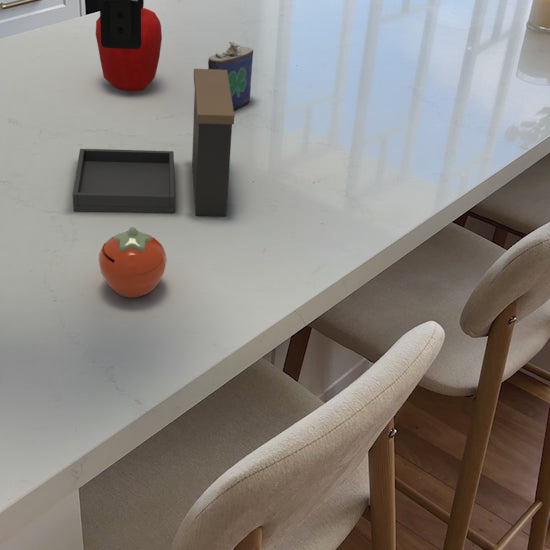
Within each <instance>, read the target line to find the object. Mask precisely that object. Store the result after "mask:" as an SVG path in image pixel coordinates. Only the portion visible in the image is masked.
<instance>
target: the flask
mask: <svg viewBox="0 0 550 550" xmlns="http://www.w3.org/2000/svg"><path fill="white" fill-rule="evenodd" d="M228 43H229V45H230V46H229V47H228V48H227V49H226V51H225V52H221V53H218V52H215V54H213V55H210V56H209V57H208V60H207V61H208V62H207V65H208V66H207V67H208V68H207V69H216V70H227V73H228V79H229V85H230V91H231V98H232V104H233V110H234V111H236V110H239V109H241V108H243V107H245V106H248V104H249V103H250V101H251V90H252V89H251V87H252V74H253V73H252V72H253V58H254V49H253V48H252V47H248V46H241V44H240V45H239V44H237V43H235V42H234V41H228Z"/></svg>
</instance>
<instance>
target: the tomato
mask: <svg viewBox="0 0 550 550" xmlns="http://www.w3.org/2000/svg"><path fill="white" fill-rule="evenodd" d="M166 253H167V252H166V250H165V247H164V246H163V244H162V243H161V242H160V241H159V240H158V239H157V238H155V237H153V236H151V235H149V234H147V233H144V232H141V231H139V230H138V229H137V228H136V227H135V226H130V227H129V228H128V230H126V231H124V232H121V233H120V232H119V233H118V234H115V235H113V236H112V237H110V238H109V239H108V240H106V241H105V242H104V243H103V245H102V246H101V248H100V251H99V253H98V265H99V269H100V274H101V275H102V277H103V280H104V281H105V282H106V283H107V285H108V286H109V287H110V289H111V290H112V291H114V292H115V293H117V294H118V295H119V296H121V297H125V298H129V299H131V298H139V297H142V296H146V295H147V294H148V293H149V294H150V292H152V291H153V290H154V289H155V288H156V287H157V285H158V284H159V283H160V282H161V280H162V278H163V276H164V274H165V270H166V266H167V262H168V261H167V254H166Z"/></svg>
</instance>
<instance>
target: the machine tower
mask: <svg viewBox="0 0 550 550" xmlns="http://www.w3.org/2000/svg"><path fill="white" fill-rule="evenodd" d="M193 84H194V85H193V86H194V87H193V88H194V98H193V99H194V100H193V101H194V102H193V126H192V127H193V129H192V153H191V155H192V156H191V166H192V167H191V168H192V169H191V170H192V186H193V202H194V203H193V204H194V216H196V217H227V213H228V211H227V210H228V195H229V179H230V163H231V149H232V147H231V146H232V135H233V134H232V131H233V125H234V124H235V112H234V110H233V104H232V98H231V91H230V85H229V79H228V73H227V70H216V69H208V68H193Z"/></svg>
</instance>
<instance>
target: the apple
mask: <svg viewBox="0 0 550 550" xmlns="http://www.w3.org/2000/svg"><path fill="white" fill-rule="evenodd" d="M95 39H96V43H97V49H98V55H99V61H100V65H101V70H102V76H103V78H104V79H105V80H106V81H107V82H108V83H109V84H111V85H112V86H113V87H114V88H116V89H117V90H120V91H125V92H133V93H134V92H135V93H136V92H141V91H143V90H146V88H147V87H148V86H149V85H150V84H151V83H152V82H153V80H154V79H155V78H156V74H157V70H158V65H159V62H160V61H159V60H160V57H161V56H160V55H161V50H162V49H161V47H162V41H163V35H162V24H161V21H160V19H159V17H158V15H157V14H156V12H154V11H153V10H151V9H148V8H146V7H143V8H142V9H141V47H140V48H139V49H120V48H104V47H103V46H102V45H101V27H100V16H99V17H98V18H97V19H96V21H95Z"/></svg>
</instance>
